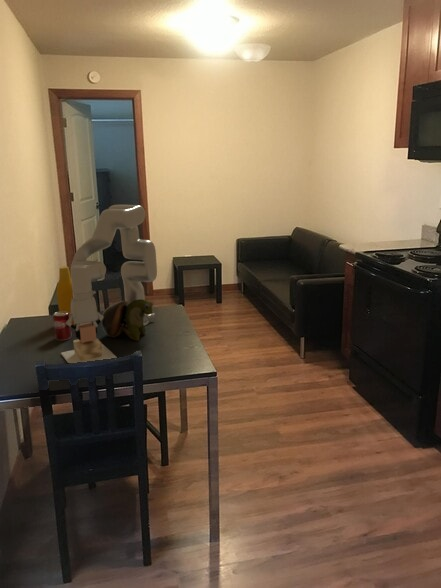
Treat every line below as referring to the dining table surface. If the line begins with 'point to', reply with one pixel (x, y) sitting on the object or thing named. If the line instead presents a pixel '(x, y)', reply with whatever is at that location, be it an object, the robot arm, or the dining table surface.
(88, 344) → the maple block
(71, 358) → the plate
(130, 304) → the brown green figure
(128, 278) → the robot arm
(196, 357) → the dining table surface
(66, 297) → the beer bottle
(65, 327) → the soda can
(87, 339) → the pink cube
